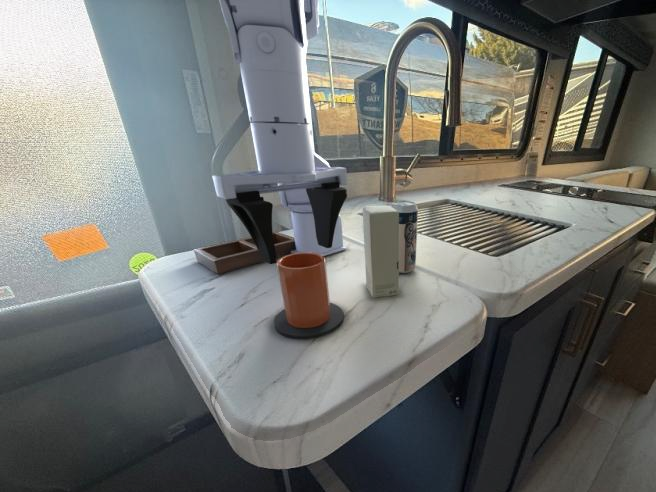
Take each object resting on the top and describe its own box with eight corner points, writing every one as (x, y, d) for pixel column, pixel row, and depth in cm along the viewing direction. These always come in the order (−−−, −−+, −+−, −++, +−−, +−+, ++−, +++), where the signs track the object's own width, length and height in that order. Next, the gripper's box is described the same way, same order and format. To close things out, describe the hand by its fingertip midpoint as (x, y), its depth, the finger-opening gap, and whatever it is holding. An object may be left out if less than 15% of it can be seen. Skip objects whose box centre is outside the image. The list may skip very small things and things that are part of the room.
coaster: (316, 297, 47) (316, 295, 47) (357, 318, 42) (357, 315, 42) (260, 321, 41) (260, 318, 41) (301, 348, 36) (300, 345, 36)
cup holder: (197, 261, 60) (193, 249, 58) (278, 242, 71) (276, 231, 70) (218, 274, 55) (214, 261, 53) (301, 250, 66) (299, 239, 65)
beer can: (413, 275, 56) (415, 206, 50) (387, 273, 56) (387, 205, 51) (417, 266, 60) (420, 201, 54) (392, 263, 60) (393, 199, 55)
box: (399, 295, 49) (401, 211, 42) (371, 299, 47) (369, 213, 41) (390, 282, 53) (390, 204, 47) (364, 285, 52) (361, 205, 46)
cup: (302, 303, 45) (294, 250, 41) (337, 310, 43) (333, 255, 39) (278, 323, 40) (266, 265, 36) (316, 331, 38) (309, 271, 35)
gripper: (222, 120, 24) (257, 280, 30) (362, 126, 34) (366, 247, 40) (189, 121, 28) (226, 262, 34) (322, 126, 38) (331, 235, 44)
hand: (299, 253), depth 38 cm, fingers open, 7 cm apart
